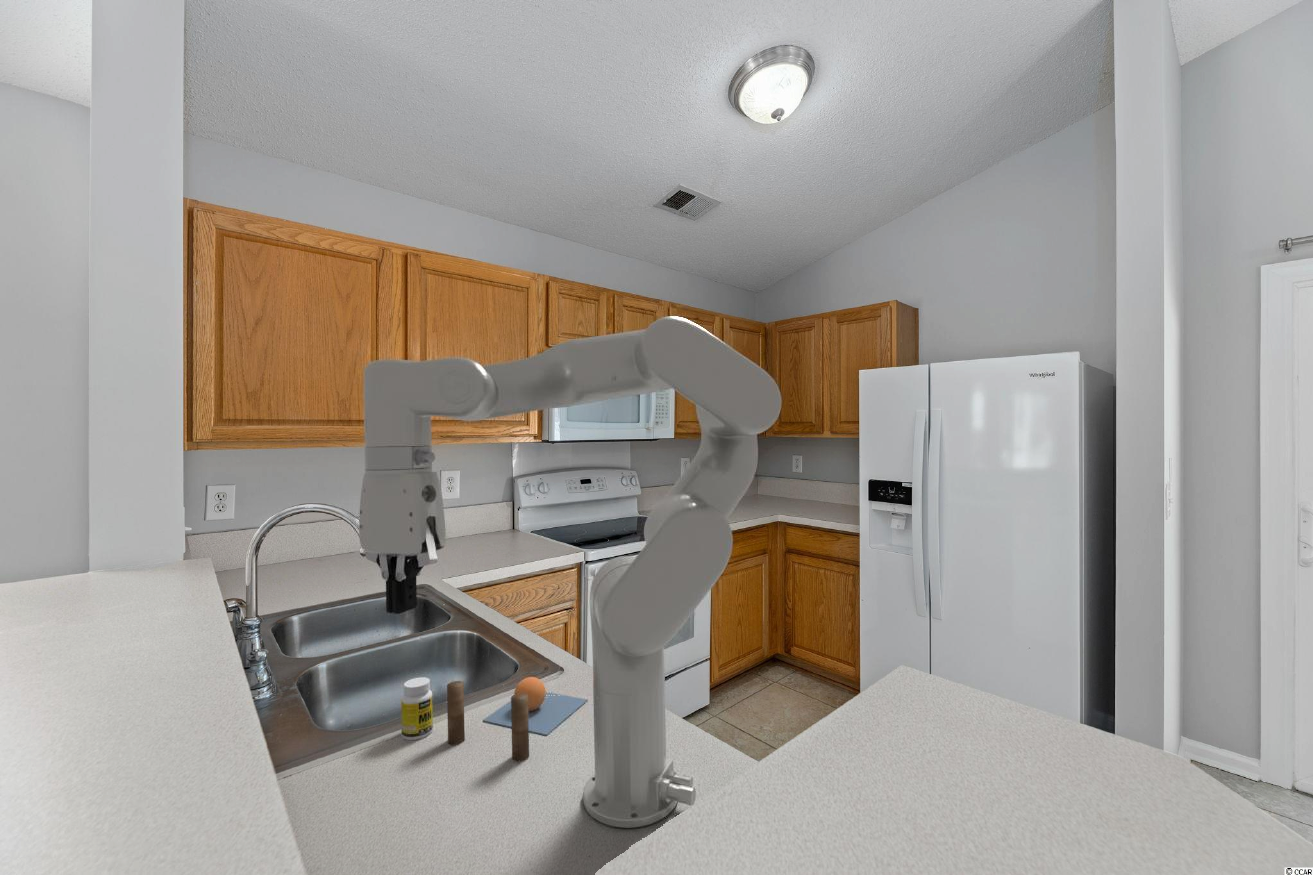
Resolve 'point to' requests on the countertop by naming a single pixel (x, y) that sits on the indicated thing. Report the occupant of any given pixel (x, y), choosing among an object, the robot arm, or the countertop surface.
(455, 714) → the post far
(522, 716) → the post near
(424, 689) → the supplement bottle
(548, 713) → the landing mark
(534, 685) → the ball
